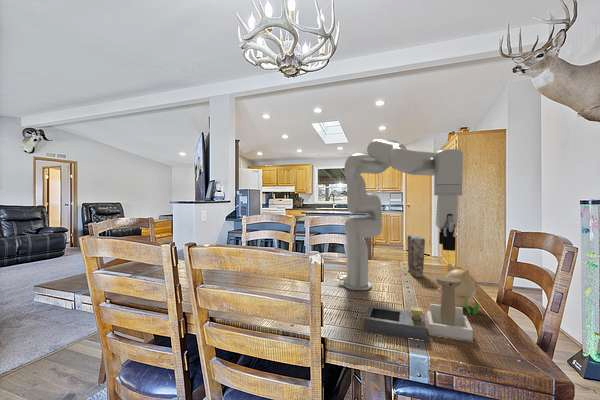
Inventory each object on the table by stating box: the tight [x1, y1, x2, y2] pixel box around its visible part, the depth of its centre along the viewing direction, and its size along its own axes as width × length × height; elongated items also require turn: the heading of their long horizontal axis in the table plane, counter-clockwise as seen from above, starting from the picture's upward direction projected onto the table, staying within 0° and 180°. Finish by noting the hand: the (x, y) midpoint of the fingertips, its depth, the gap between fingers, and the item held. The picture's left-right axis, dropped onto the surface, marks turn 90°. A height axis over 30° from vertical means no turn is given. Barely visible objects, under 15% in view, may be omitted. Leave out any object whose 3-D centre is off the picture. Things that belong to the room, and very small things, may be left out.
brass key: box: [410, 306, 423, 321], centre depth 84 cm, size 3×3×7 cm
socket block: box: [363, 305, 428, 342], centre depth 86 cm, size 17×10×4 cm, turn 69°
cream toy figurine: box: [437, 263, 479, 315], centre depth 103 cm, size 15×10×15 cm
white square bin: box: [426, 303, 474, 344], centre depth 84 cm, size 11×10×6 cm
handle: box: [436, 276, 461, 326], centre depth 84 cm, size 5×6×15 cm
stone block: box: [406, 234, 426, 278], centre depth 146 cm, size 13×7×20 cm, turn 177°
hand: (446, 247), depth 84 cm, fingers open, 9 cm apart
